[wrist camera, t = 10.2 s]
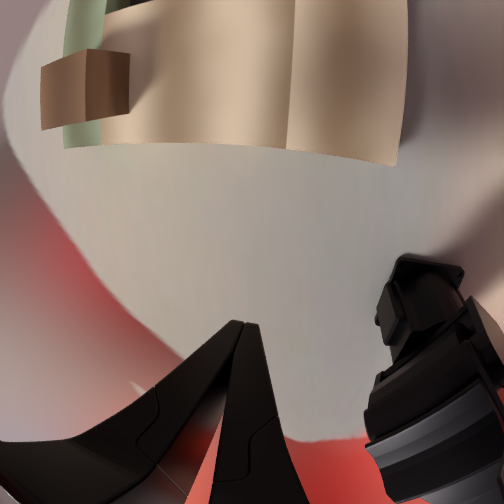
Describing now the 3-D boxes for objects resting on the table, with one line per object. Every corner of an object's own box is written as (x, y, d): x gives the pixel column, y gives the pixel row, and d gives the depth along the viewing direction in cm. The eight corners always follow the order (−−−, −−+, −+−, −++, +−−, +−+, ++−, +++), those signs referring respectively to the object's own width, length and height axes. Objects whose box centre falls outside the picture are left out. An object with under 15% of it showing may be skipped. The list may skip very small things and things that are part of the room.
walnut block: (130, 53, 12) (86, 48, 9) (128, 113, 14) (85, 121, 11) (84, 66, 13) (41, 67, 10) (84, 119, 15) (41, 130, 12)
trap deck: (388, -48, 8) (398, -66, 5) (382, 157, 16) (395, 166, 13) (100, -26, 11) (77, -34, 8) (89, 140, 19) (64, 148, 16)
